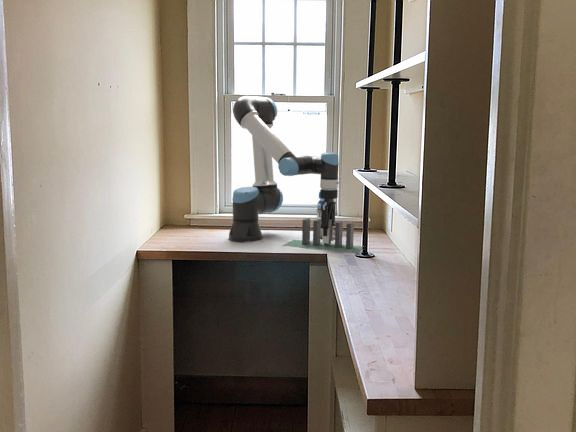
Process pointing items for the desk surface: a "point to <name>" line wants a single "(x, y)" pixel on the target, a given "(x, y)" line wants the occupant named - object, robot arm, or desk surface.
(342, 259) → the desk surface
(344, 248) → the mat
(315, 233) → the domino
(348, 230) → the domino
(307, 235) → the domino
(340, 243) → the domino
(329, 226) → the domino
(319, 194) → the beverage bottle
